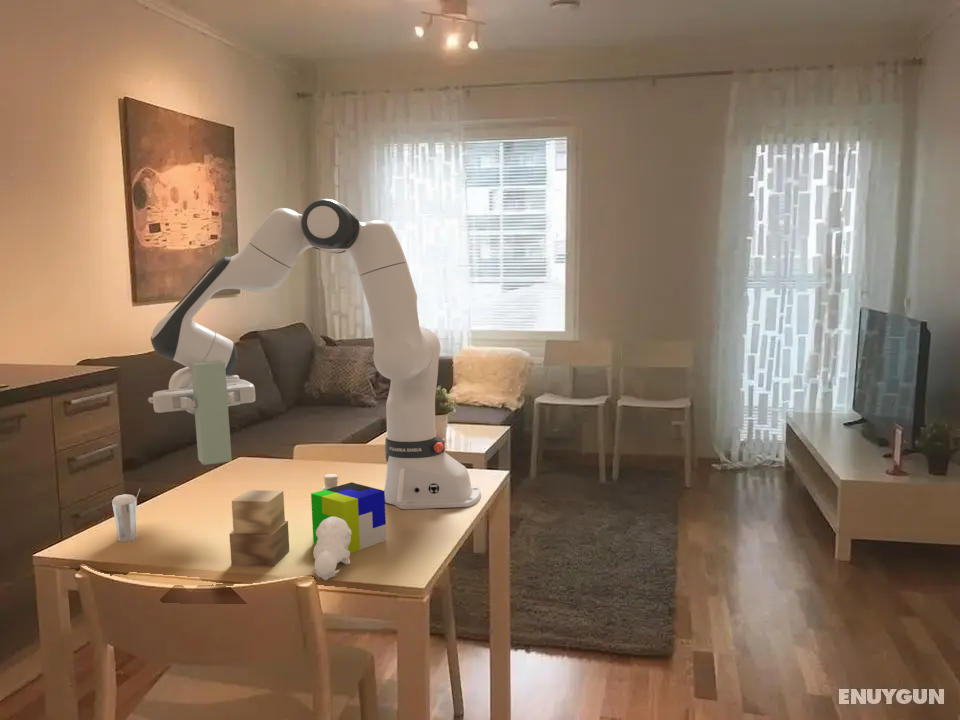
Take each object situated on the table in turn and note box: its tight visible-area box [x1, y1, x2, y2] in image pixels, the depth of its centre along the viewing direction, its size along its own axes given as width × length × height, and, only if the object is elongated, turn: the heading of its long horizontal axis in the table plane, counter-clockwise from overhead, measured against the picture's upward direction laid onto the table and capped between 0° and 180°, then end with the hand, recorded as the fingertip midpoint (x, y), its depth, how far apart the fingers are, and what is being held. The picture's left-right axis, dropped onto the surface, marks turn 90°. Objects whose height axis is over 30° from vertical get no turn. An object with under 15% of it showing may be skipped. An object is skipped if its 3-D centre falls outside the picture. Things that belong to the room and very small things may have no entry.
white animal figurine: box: [311, 517, 352, 581], centre depth 146 cm, size 6×8×12 cm
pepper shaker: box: [322, 473, 339, 490], centre depth 169 cm, size 5×5×11 cm
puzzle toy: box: [310, 481, 387, 554], centre depth 161 cm, size 10×10×10 cm
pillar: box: [191, 360, 233, 466], centre depth 166 cm, size 6×6×20 cm
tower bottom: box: [229, 520, 290, 568], centre depth 153 cm, size 8×8×6 cm
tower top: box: [231, 489, 286, 534], centre depth 153 cm, size 7×7×6 cm
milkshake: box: [111, 488, 141, 543], centre depth 165 cm, size 5×5×10 cm
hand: (211, 402), depth 165 cm, fingers closed on pillar, 5 cm apart
